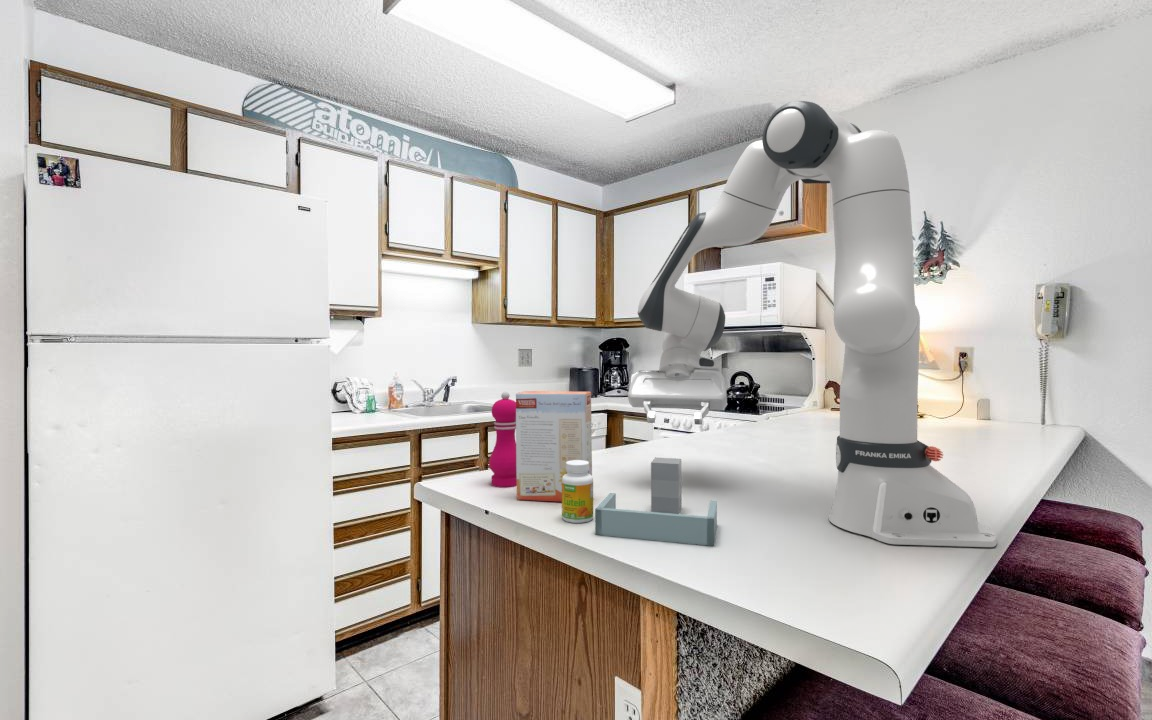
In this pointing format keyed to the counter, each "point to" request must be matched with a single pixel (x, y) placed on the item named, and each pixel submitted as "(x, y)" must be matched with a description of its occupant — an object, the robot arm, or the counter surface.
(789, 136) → the robot arm
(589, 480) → the supplement bottle
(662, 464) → the tile stack
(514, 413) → the pepper mill
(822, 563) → the counter surface
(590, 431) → the cracker box
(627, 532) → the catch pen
